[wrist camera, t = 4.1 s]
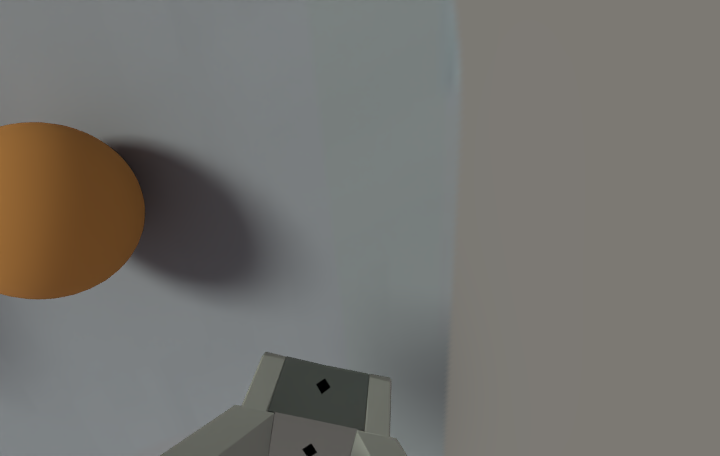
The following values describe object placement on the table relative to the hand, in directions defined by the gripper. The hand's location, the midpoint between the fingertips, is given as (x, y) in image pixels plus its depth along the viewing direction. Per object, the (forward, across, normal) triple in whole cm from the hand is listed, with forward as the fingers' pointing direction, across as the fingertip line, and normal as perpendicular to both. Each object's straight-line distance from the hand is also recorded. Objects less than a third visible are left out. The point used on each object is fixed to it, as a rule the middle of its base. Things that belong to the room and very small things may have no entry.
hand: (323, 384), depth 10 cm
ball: (+4, +10, 0) cm, 11 cm away
